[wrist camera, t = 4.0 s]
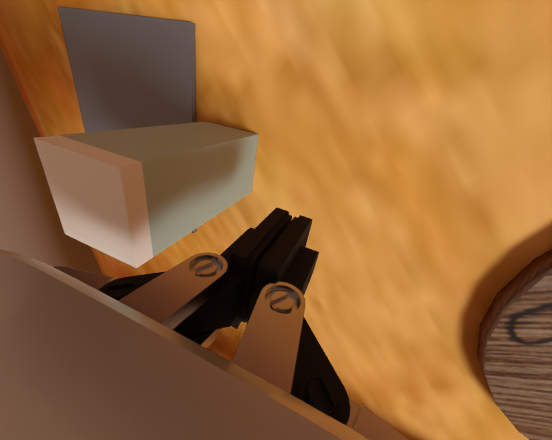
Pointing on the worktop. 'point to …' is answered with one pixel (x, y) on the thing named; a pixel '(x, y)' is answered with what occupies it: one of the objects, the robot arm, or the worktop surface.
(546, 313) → the trivet
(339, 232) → the worktop surface
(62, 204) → the sage block
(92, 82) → the charcoal mat
